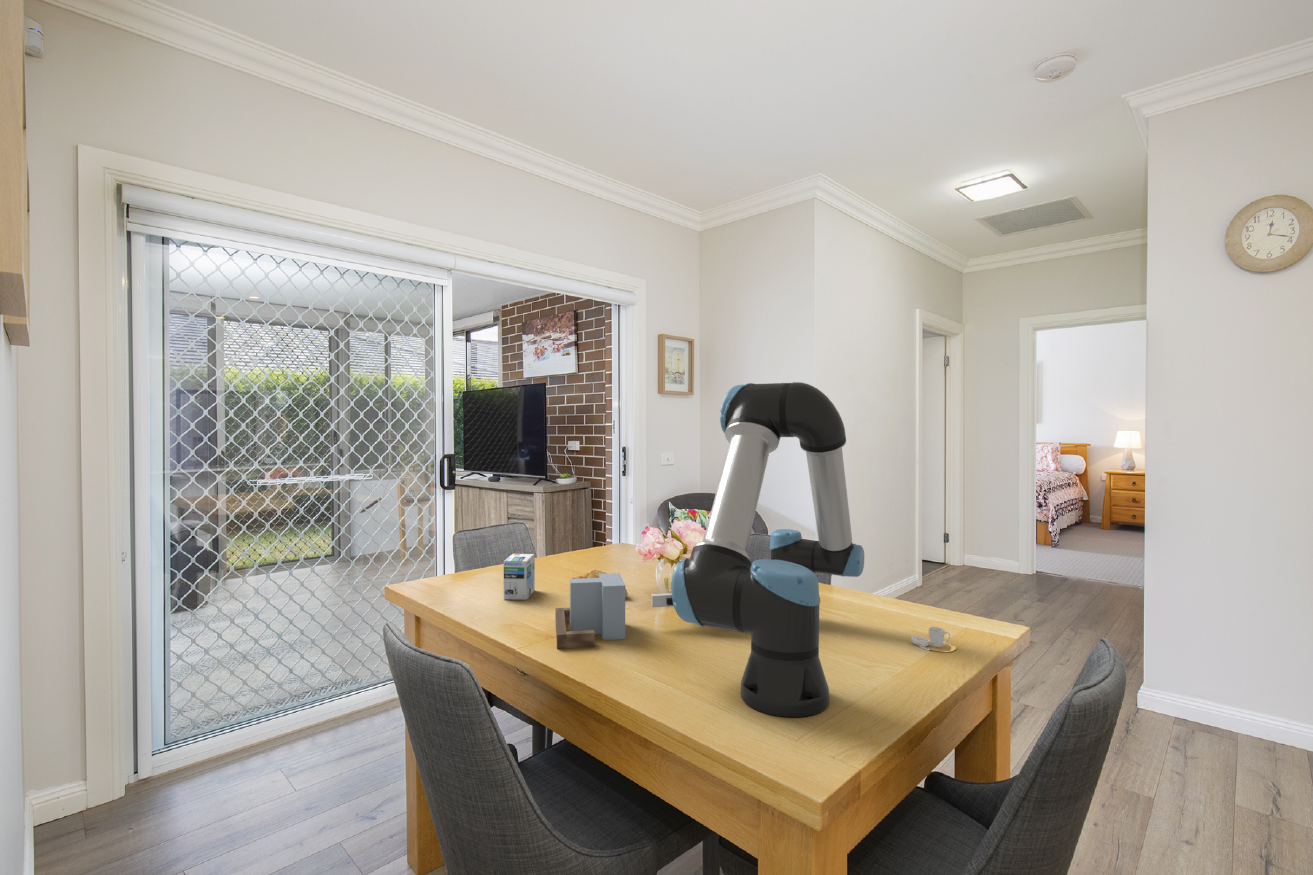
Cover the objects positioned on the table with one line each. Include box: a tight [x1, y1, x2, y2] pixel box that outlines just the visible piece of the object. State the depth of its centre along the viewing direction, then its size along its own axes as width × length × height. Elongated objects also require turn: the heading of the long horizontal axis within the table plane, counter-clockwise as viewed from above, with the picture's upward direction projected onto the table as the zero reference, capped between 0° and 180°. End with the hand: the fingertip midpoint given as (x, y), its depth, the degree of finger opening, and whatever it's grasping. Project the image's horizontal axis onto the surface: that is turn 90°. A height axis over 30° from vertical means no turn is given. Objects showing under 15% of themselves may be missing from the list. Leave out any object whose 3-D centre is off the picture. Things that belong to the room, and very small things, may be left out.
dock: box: [554, 607, 596, 650], centre depth 143 cm, size 8×20×3 cm, turn 10°
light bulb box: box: [503, 553, 536, 601], centre depth 175 cm, size 11×7×11 cm, turn 179°
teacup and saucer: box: [910, 626, 951, 651], centre depth 135 cm, size 9×8×4 cm
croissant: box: [571, 569, 629, 598], centre depth 177 cm, size 21×10×8 cm, turn 53°
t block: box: [569, 572, 626, 641], centre depth 144 cm, size 12×12×12 cm
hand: (651, 600), depth 146 cm, fingers closed
